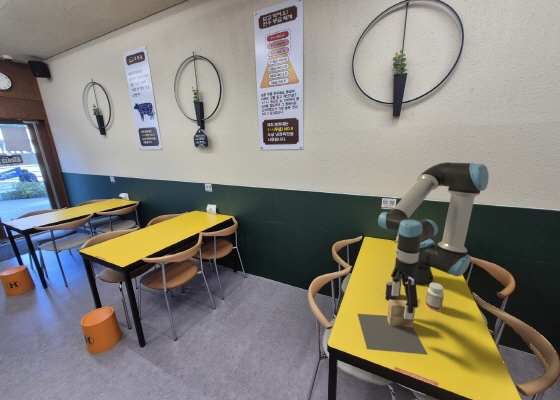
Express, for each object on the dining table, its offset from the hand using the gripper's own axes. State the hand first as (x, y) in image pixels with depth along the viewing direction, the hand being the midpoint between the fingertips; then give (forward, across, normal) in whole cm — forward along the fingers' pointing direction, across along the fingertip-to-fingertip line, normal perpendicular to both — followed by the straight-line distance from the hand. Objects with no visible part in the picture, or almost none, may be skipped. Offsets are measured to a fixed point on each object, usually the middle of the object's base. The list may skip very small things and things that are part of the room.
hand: (401, 306), depth 91 cm
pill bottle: (+9, -12, +19) cm, 25 cm away
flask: (+9, -17, +3) cm, 20 cm away
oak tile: (+9, 0, 0) cm, 9 cm away
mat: (+9, +5, -6) cm, 12 cm away
